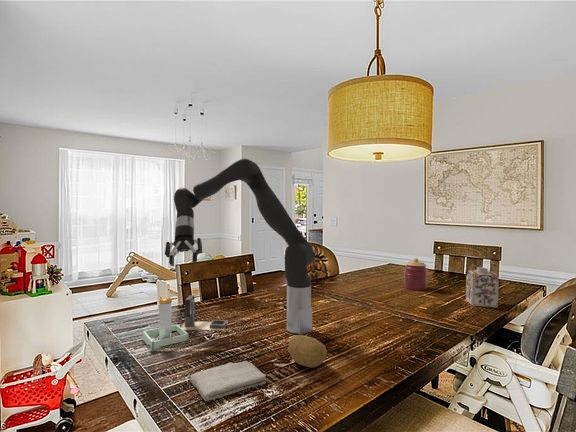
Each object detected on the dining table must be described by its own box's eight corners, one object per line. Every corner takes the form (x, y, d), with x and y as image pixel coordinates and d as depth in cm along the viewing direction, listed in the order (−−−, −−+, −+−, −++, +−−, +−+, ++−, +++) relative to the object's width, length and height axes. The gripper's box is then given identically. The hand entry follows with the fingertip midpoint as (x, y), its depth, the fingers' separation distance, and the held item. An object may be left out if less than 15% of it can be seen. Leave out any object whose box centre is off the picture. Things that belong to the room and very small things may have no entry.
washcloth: (269, 384, 92) (269, 373, 92) (204, 405, 82) (204, 392, 82) (248, 367, 102) (248, 356, 102) (189, 384, 92) (189, 372, 92)
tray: (188, 342, 118) (188, 334, 118) (152, 351, 111) (152, 342, 111) (176, 332, 128) (176, 324, 128) (142, 339, 121) (142, 330, 121)
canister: (429, 287, 204) (429, 257, 204) (424, 291, 193) (425, 260, 193) (406, 284, 211) (407, 255, 211) (401, 288, 200) (401, 258, 200)
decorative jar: (471, 306, 166) (472, 269, 166) (465, 299, 177) (465, 265, 177) (498, 308, 163) (500, 270, 163) (490, 301, 175) (491, 266, 174)
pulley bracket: (227, 324, 137) (228, 294, 137) (224, 332, 128) (224, 300, 128) (185, 324, 137) (185, 294, 136) (178, 332, 128) (178, 300, 127)
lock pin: (172, 336, 122) (172, 297, 122) (170, 341, 118) (170, 300, 118) (160, 337, 121) (160, 298, 121) (158, 341, 117) (158, 301, 117)
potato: (303, 352, 112) (304, 328, 111) (334, 369, 100) (334, 342, 100) (279, 360, 106) (279, 334, 106) (309, 378, 95) (309, 350, 94)
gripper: (164, 226, 139) (161, 262, 130) (199, 222, 140) (199, 257, 131) (170, 236, 146) (167, 270, 137) (203, 231, 146) (203, 265, 137)
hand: (183, 264), depth 134 cm, fingers open, 8 cm apart
